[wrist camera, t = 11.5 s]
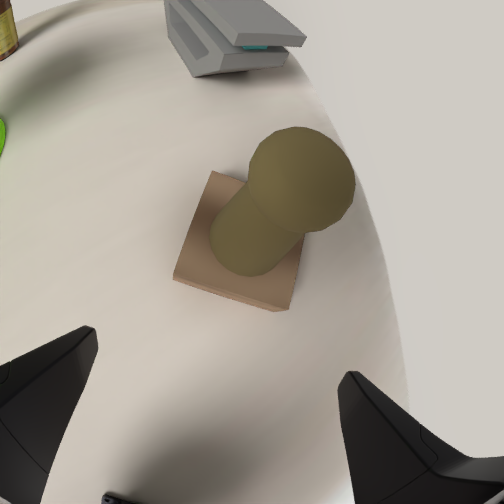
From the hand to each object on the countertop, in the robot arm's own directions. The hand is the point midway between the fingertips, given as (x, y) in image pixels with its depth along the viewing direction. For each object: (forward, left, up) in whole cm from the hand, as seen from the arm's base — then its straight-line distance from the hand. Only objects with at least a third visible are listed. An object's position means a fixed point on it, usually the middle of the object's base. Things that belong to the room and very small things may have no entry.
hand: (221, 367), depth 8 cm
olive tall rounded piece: (+9, -2, -10) cm, 14 cm away
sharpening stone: (+35, +11, -13) cm, 39 cm away
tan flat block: (+9, -2, -13) cm, 16 cm away
